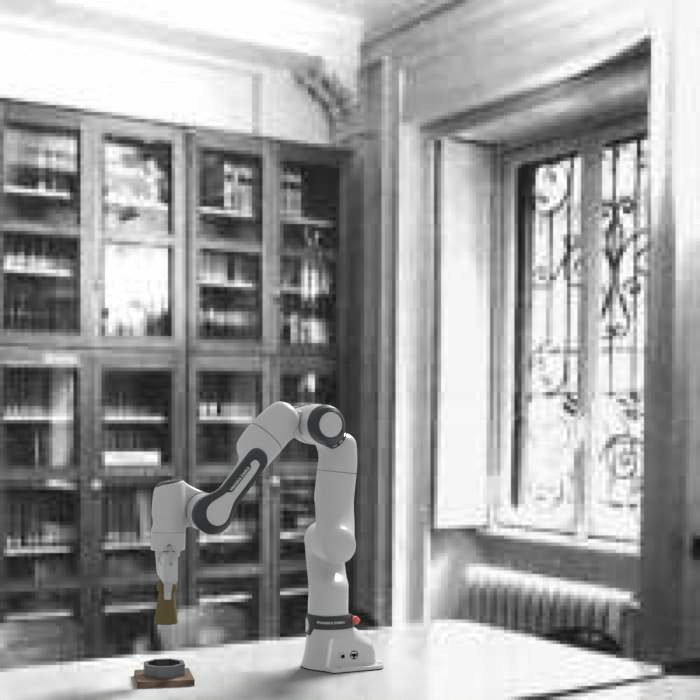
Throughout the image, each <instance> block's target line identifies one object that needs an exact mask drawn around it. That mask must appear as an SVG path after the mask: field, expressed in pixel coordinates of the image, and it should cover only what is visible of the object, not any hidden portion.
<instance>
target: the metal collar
mask: <svg viewBox="0 0 700 700" xmlns="http://www.w3.org/2000/svg"><path fill="white" fill-rule="evenodd" d="M185 668H186V663H185V661H184V659H183V660H182V659H178V658H177V659H176V658H171V657H169V658H153V659H150V660H145V661H143V669H142V670H143V674H144V677H145V678H151V679H175V678H179V677H182V676H185Z"/></svg>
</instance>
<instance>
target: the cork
mask: <svg viewBox="0 0 700 700" xmlns="http://www.w3.org/2000/svg"><path fill="white" fill-rule="evenodd" d="M156 590H157V592H158V595H157V601H156V608H155V614H154V615H155V616H154V621H153V624H154V625H158V626H169V625H171V626H172V625H177V624H178V623H179V620H178V611H177V601H176V591H178V583H177V584H173V586H172V592H171V599H170V600H165V599H164V584H163V582H162V581H161V579H160V580H158V581H157V583H156Z"/></svg>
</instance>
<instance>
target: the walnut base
mask: <svg viewBox="0 0 700 700" xmlns="http://www.w3.org/2000/svg"><path fill="white" fill-rule="evenodd" d="M133 672H134V673H133V677H134V680H135V684H136V687H137V689H152V688H153V689H155V688H178V687H193V686H194V687H195V678H194V676H193V673H192V671H191V669H190V668H189V667H185V676H182V677H179V678H175V679H151V678H145V677H144V674H143V669H134V671H133Z"/></svg>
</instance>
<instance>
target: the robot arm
mask: <svg viewBox="0 0 700 700" xmlns="http://www.w3.org/2000/svg"><path fill="white" fill-rule="evenodd" d="M292 440H293V441H295V442H297V443H300V444H307V445H314V446H315V447H316V451H317V455H318V461H317V467H316V476H315V483H314V485H315V486H314V495H313V500H314V507H315V509H314V511H315V522H313V523H312V524H310V525H309V526H308V527H307V529H306V530H305V532H304V536H303V541H304V550H305V563H306V572H307V573H306V574H307V589H308V592H307V593H308V595H307V596H308V597H307V599H308V600H307V612H306V616H305V634H306V637H305V638H306V640H305V647H304V652H303V657H302V660H301V662H300V666H301V667H303V668H306V669H309V670H314V671H322V672H326V673H327V672H328V673H333V674H335V673H337V674H338V673H348V672H359V671H371V670H380V669H383V668H384V662H383V660H382V659H380V658H378V657H377V656H376V649H375V647H374V644H373V642H372V641H371V639H369V637H367V636H366V635H365V634H364V633H363V632H361V631H360V630H359V629H358V628H356V627H355V625H359V623H360V622H361V619H360V618H359V616H357V615H353V614H352V613H350V612H349V581H348V577H347V572H346V571H347V570H346V562H349V561H350V560H351V559H352V557H353V556H354V555H355V553H356V549H357V542H356V537H355V534H356V533H355V531H356V529H355V528H356V527H355V523H356V522H355V506H354V503H355V491H356V483H357V482H356V480H357V471H358V447H357V441H356V439H355V437H353V436H352V435H351V434H349V433H348V430H347V427H346V420H345V418H344V415H343V414H342V412H341V411H340V410H339V409H338V408H336V407H335V406H332V405H330V404H320V403H311V404H306V405H305V404H304V405H298V406H295V407H294V406H292V405H291V404H289V403H288V402H285V401H275V402H273V403H271V404H270V405H269V406H268V407H267V408H265V409H264V410H263V411H262V412H260V413H259V414H258V415H257V417H255V418H254V419H253V420H252V422H251V423H250V424H249V425H248V426H247V427H246V428H245V430H244V431H243V432H242V434H241V435H240V437H239V438H238V441H237V442H236V453H237V455H238V460H237V464H236V465H235V467H234V469H233V470H232V471H231V473H230V474H229V475H228V476H227V477H226V479H225V480H224V481H223V482H222V484H221V485H220V487H218V488H217V489H216V490H214V491H213V492H210V493H209V492H206V491H203V490H200V489H197V487H194V486H192V485H190V484H188V483H187V482H186V481H185V480H184V479H181V478H175V479H167V480H163V481H160V482H158V483H157V484H156V485H155V487H154V489H153V494H152V500H151V502H152V503H151V518H152V526H151V528H150V550H151V551H153V552H154V555H155V570H156V574H157V576H158V577H159V579H160V580H161V581H162V582H163V584H164V599H165V600H170V599H171V592H172V586H173V584H177V585H178V581H179V557H180V556H181V552H182V551H185V550H186V534H187V533H186V532H187V531H186V530H187V528H190V527H191V528H193V529H196V530H199V531H201V532H203V533H204V534H207V535H214V536H215V535H217V534H218V535H220V534H221V533H223V532H225V531H226V530H227V529H228V528H230V525H231V524H232V522H233V519H234V517H235V512H236V511H237V508H238V506H239V504H240V502H241V501H242V500H243V498H244V497H245V496H246V494H247V493H248V492H249V490H250V489H251V488H252V487H253V486H254V484H255V483H256V481H257V480H258V479H259V478H260V476H261V475H262V474H263V473H264V471H265V470H266V469H267V467H268V466H269V465H270V464H271V463H272V462H274V459H275V458H277V457H278V455H279V454H280V453H281V451H282V450H283V449H284V448H285V447H286V446H287V444H288V443H289V442H290V441H292Z"/></svg>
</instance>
